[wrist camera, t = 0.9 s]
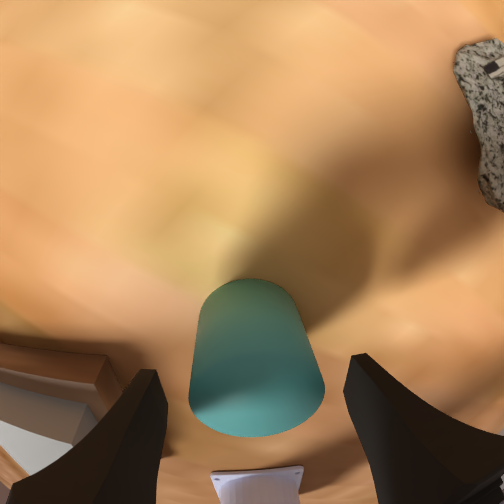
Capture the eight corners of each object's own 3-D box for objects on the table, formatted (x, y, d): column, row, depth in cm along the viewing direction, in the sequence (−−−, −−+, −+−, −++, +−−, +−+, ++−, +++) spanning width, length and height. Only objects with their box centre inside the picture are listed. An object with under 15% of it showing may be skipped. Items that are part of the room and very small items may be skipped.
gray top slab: (132, 473, 16) (126, 505, 13) (40, 450, 15) (31, 476, 13) (87, 403, 13) (71, 444, 10) (-13, 377, 12) (-32, 405, 9)
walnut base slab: (159, 453, 19) (154, 482, 17) (46, 433, 19) (37, 455, 16) (110, 348, 15) (93, 384, 12) (-15, 334, 14) (-35, 357, 12)
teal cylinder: (295, 355, 15) (316, 429, 10) (205, 361, 15) (200, 439, 10) (300, 275, 13) (333, 345, 9) (192, 281, 13) (176, 356, 8)
